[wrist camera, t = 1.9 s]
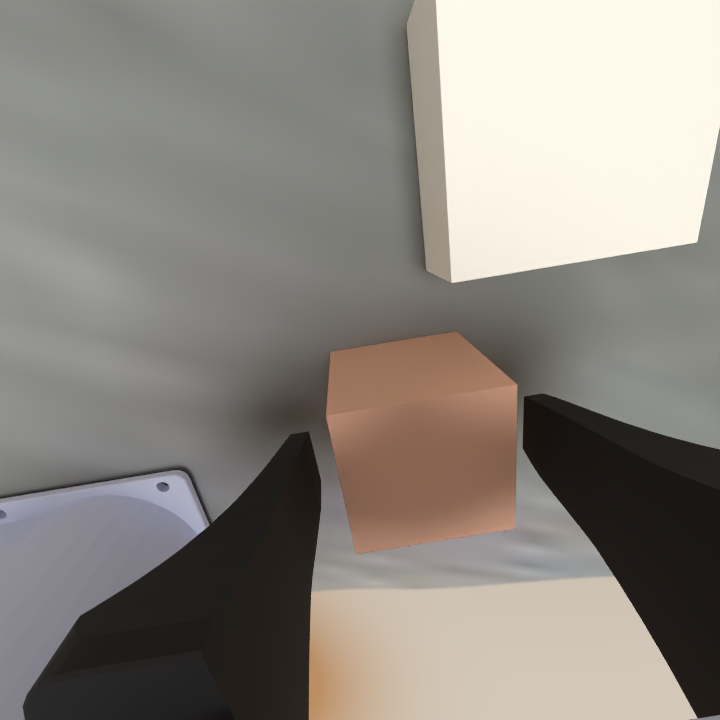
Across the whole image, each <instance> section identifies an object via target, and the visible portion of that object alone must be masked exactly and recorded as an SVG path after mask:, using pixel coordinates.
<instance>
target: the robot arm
mask: <svg viewBox="0 0 720 720" xmlns="http://www.w3.org/2000/svg"><path fill="white" fill-rule="evenodd" d="M523 449H524V451H525V453H526V455H527V456H528V458H529V460H530V462H531V463H532V465H533V466H534V468H535V470H536V471H537V473H538V474H539V476H540V477H541V478H542V480H543V481H544V482H545V484H546V485H547V486H548V487H549V489H550V490H551V491H552V492H553V494H554V495H555V496H556V498H557V499H558V500H559V501H560V503H561V504H562V505H563V506H564V507H565V509H566V510H567V511H568V512H569V514H570V515H571V516H572V517H573V519H574V520H575V521H576V522H577V524H578V525H579V526H580V527H581V529H582V530H583V531H584V532H585V534H586V535H587V536H588V538H589V539H590V540H591V542H592V543H593V545H594V546H595V547H596V549H597V550H598V552H599V553H600V555H601V556H602V558H603V559H604V561H605V562H606V564H607V565H608V567H609V568H610V570H611V571H612V573H613V575H614V576H615V578H616V579H617V581H618V582H619V584H620V585H621V587H622V589H623V590H624V592H625V593H626V595H627V597H628V598H629V600H630V601H631V603H632V605H633V606H634V608H635V610H636V611H637V613H638V614H639V616H640V617H641V619H642V621H643V623H644V624H645V626H646V628H647V629H648V631H649V633H650V634H651V636H652V638H653V640H654V641H655V643H656V645H657V646H658V648H659V650H660V651H661V653H662V655H663V657H664V658H665V660H666V662H667V664H668V665H669V667H670V669H671V671H672V672H673V674H674V676H675V678H676V680H677V681H678V683H679V685H680V687H681V689H682V690H683V692H684V694H685V696H686V698H687V699H688V701H689V703H690V705H691V707H692V709H693V711H694V712H695V714H696V716H697V719H691V720H720V450H719V449H715V448H710V447H706V446H702V445H698V444H694V443H691V442H687V441H683V440H679V439H675V438H672V437H668V436H665V435H661V434H658V433H654V432H651V431H648V430H645V429H642V428H639V427H636V426H633V425H630V424H627V423H624V422H621V421H618V420H615V419H612V418H610V417H607V416H604V415H601V414H599V413H596V412H593V411H591V410H588V409H585V408H583V407H580V406H577V405H575V404H572V403H569V402H567V401H564V400H561V399H558V398H555V397H552V396H549V395H546V394H537V395H531V396H525V397H524V420H523ZM162 482H165V483H167V484H168V485H164V484H163V483H162ZM320 512H321V479H320V475H319V471H318V467H317V463H316V459H315V455H314V450H313V446H312V442H311V438H310V434H309V432H303V433H297V434H291V435H290V436H289V437H288V439H287V440H286V441H285V442H284V444H283V445H282V446H281V448H280V449H279V450H278V452H277V453H276V454H275V455H274V457H273V458H272V459H271V461H270V462H269V463H268V464H267V466H266V467H265V468H264V469H263V471H262V472H261V473H260V474H259V475H258V477H257V478H256V479H255V480H254V481H253V482H252V483H251V484H250V486H249V487H248V488H247V489H246V490H245V491H244V492H243V493H242V495H241V496H240V497H239V498H238V499H237V500H236V501H235V502H234V503H233V504H232V505H231V506H230V507H229V508H228V509H227V510H226V511H225V512H223V513H222V514H221V515H220V516H219V517H218V518H217V519H216V520H215V521H214V522H213V523H212V524H210V525H209V523H208V520H207V518H206V516H205V513H204V511H203V508H202V506H201V504H200V501H199V499H198V496H197V494H196V492H195V489H194V487H193V485H192V482H191V480H190V477H189V476H188V475H187V474H186V473H185V472H183V471H180V470H172V471H166V472H160V473H154V474H148V475H142V476H136V477H130V478H124V479H118V480H112V481H106V482H100V483H94V484H87V485H81V486H75V487H69V488H63V489H57V490H51V491H45V492H39V493H33V494H27V495H21V496H15V497H9V498H3V499H0V720H309V642H310V606H311V587H312V576H313V568H314V560H315V553H316V545H317V537H318V529H319V521H320Z"/></svg>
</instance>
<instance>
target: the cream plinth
mask: <svg viewBox="0 0 720 720" xmlns="http://www.w3.org/2000/svg"><path fill="white" fill-rule="evenodd" d="M406 27H407V40H408V52H409V64H410V76H411V89H412V101H413V113H414V125H415V138H416V150H417V162H418V175H419V187H420V199H421V211H422V224H423V236H424V248H425V260H426V271H428V272H430V273H432V274H434V275H436V276H438V277H440V278H442V279H444V280H446V281H448V282H450V283H455V282H461V281H467V280H473V279H479V278H485V277H491V276H497V275H503V274H509V273H515V272H521V271H527V270H533V269H539V268H545V267H551V266H557V265H563V264H570V263H576V262H582V261H588V260H594V259H600V258H606V257H612V256H618V255H624V254H630V253H636V252H642V251H648V250H654V249H660V248H666V247H672V246H678V245H684V244H690V243H696V242H697V240H698V235H699V229H700V224H701V219H702V214H703V209H704V204H705V199H706V194H707V189H708V183H709V178H710V173H711V168H712V163H713V158H714V153H715V148H716V143H717V137H718V132H719V127H720V0H415V1H414V4H413V7H412V10H411V13H410V16H409V19H408V22H407V25H406Z"/></svg>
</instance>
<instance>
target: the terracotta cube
mask: <svg viewBox="0 0 720 720" xmlns="http://www.w3.org/2000/svg"><path fill="white" fill-rule="evenodd" d="M326 418H327V423H328V428H329V432H330V437H331V441H332V446H333V450H334V455H335V460H336V464H337V469H338V473H339V478H340V483H341V487H342V492H343V496H344V501H345V505H346V510H347V515H348V519H349V524H350V528H351V533H352V537H353V542H354V547H355V551H356V554H361V553H368V552H374V551H380V550H386V549H392V548H398V547H404V546H411V545H417V544H423V543H429V542H435V541H441V540H448V539H454V538H460V537H466V536H472V535H478V534H485V533H491V532H497V531H503V530H509V529H515V504H516V443H517V384H516V383H515V382H514V381H513V380H512V379H510V378H509V377H508V376H507V375H506V374H505V373H504V372H502V371H501V370H500V369H499V368H498V367H497V366H496V365H494V364H493V363H492V362H491V361H490V360H489V359H488V358H487V357H485V356H484V355H483V354H482V353H481V352H480V351H479V350H477V349H476V348H475V347H474V346H473V345H472V344H471V343H469V342H468V341H467V340H466V339H465V338H464V337H463V336H462V335H460V334H459V333H458V332H457V331H455V332H449V333H443V334H436V335H430V336H424V337H418V338H412V339H406V340H400V341H394V342H388V343H382V344H376V345H370V346H364V347H358V348H351V349H345V350H339V351H333V352H331V353H330V367H329V381H328V395H327V409H326Z"/></svg>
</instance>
